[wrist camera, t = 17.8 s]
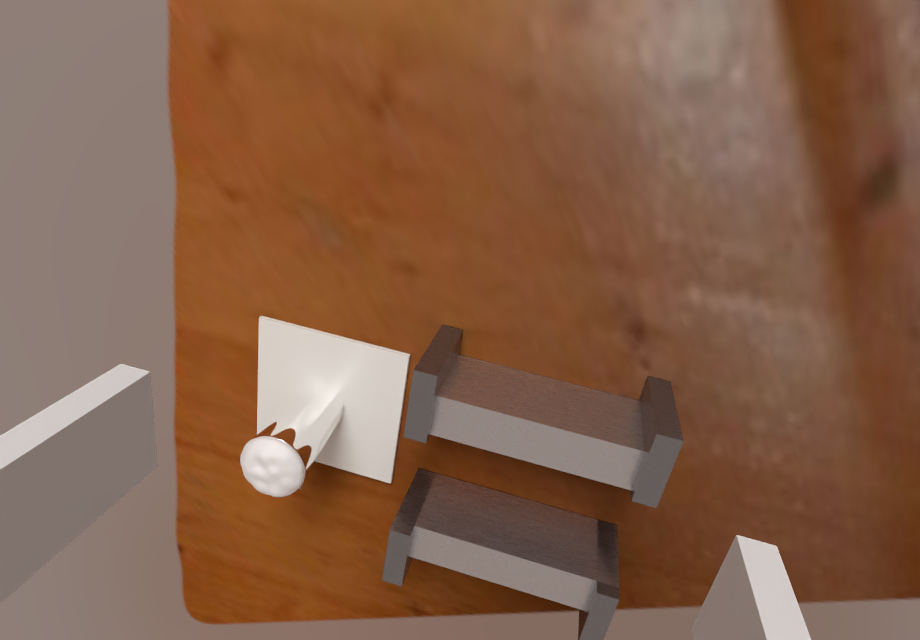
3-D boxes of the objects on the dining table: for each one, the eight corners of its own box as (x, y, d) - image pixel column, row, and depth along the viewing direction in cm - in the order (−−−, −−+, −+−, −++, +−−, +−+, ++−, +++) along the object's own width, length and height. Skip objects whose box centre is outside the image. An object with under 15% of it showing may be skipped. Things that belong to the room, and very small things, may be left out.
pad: (410, 354, 42) (408, 356, 42) (392, 480, 47) (390, 483, 47) (261, 315, 44) (258, 317, 44) (259, 441, 49) (257, 444, 49)
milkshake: (366, 429, 45) (308, 516, 37) (305, 428, 47) (235, 512, 38) (354, 378, 44) (291, 456, 35) (292, 379, 45) (215, 454, 36)
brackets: (670, 381, 39) (683, 441, 32) (599, 571, 46) (599, 649, 40) (442, 324, 41) (413, 370, 35) (410, 514, 48) (382, 580, 42)
